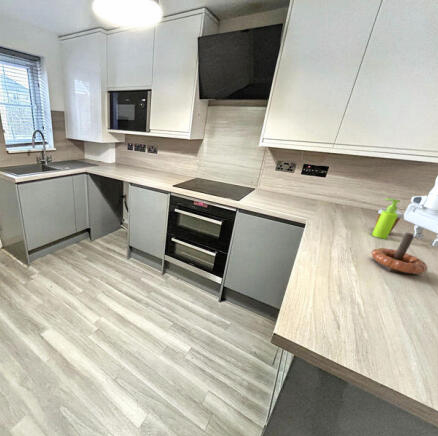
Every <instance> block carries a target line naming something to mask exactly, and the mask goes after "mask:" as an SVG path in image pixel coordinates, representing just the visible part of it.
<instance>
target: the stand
mask: <svg viewBox="0 0 438 436" xmlns="http://www.w3.org/2000/svg"><path fill="white" fill-rule="evenodd" d="M414 234H415V233H412V232H405V234H404V236H403V237H402V240H401V242H400V243H399V245H398V248H397V249H396V250H397V252H396V253H395V255H394V257H393V259H396V260H399V261H402V259H403V257H404V255H405V253H407V252H408V250H409V248H410V245H411V244H412V242H413V240H414V238H415V237H413V236H414ZM372 258H373V257H372ZM372 260H373V261H374V262H375V263H377V264H378V265H380V266H381V267H383V268H384V269H386V270H387V271H388V272H392V273H400V274H406V275H413V276H417V275H418V274H414V273H406V272H402V271H399V270H395V269H392V268H390V267H387V266H385V265H383V264H381V263H379V262H378V261H376V260H375V259H374V258H373V259H372Z"/></svg>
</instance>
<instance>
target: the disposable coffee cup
mask: <svg viewBox="0 0 438 436" xmlns="http://www.w3.org/2000/svg"><path fill="white" fill-rule="evenodd" d="M386 210H387V208H380V209H379V210H378V211H377V212H378V214H377V218H376V221H375V225H374V227H375V226H376V224H377V222H378V219H379V217H380V215H381V213H382V211H386ZM395 213H396V214H398V216H397V218H396V220H395V222H394V224H393V227H392V229H391V231H390V233H389V235H390V234H391V232H392V231H393V230H394V229H395V227H396V225H397V224H398V222H399V221H400V219H401V218H404V215H403V212H401V211H399V210H396V212H395Z"/></svg>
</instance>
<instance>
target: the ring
mask: <svg viewBox="0 0 438 436" xmlns="http://www.w3.org/2000/svg"><path fill="white" fill-rule="evenodd" d="M397 250H398V249H393V248H385V247H380V248H374V249H373V250H372V251H371V256H372V258H374V259H375V260H376V261H378V262H379V263H381V264H383V265H385V266H387V267H390V268H392V269H395V270H399V271H402V272H406V273H414V274H417V275H419V274H423V273H426V272H427V271H428V265H427V263H426V262H425V261H424V260H422V259H420V258H418V257H417V256H415V255H412V254H409V253H407V252H406V253H405V255H404V257H403V259H402V261H399V260H396V259H393V257H394V255H395V253H396V252H397ZM376 261H375V262H376ZM379 263H378V264H379ZM406 273H405V274H406Z"/></svg>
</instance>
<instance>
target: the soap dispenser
mask: <svg viewBox="0 0 438 436" xmlns="http://www.w3.org/2000/svg"><path fill="white" fill-rule="evenodd" d="M384 200H385V201H387V202H388V201H389V202H390V201H391V204H389V205H388V206H387V207H386V209H387V210H386V211H382V213H381V215H380V217H379V219H378V222H377V224H376V223H375V225H376V226H375V225H374V229H373V231H372V233H371V236H373V237H375V238H379V239H383V240H386V239H388V237H389V235H390V234H391V232H392V231H391V229H392V227H393V224H394V222H395V220H396V218H397V216H398V214H396V213H395V212H396V211H398V206H397V204H398V203H401V200H399V199H395V198H384ZM390 231H391V232H390ZM389 233H390V234H389Z"/></svg>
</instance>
